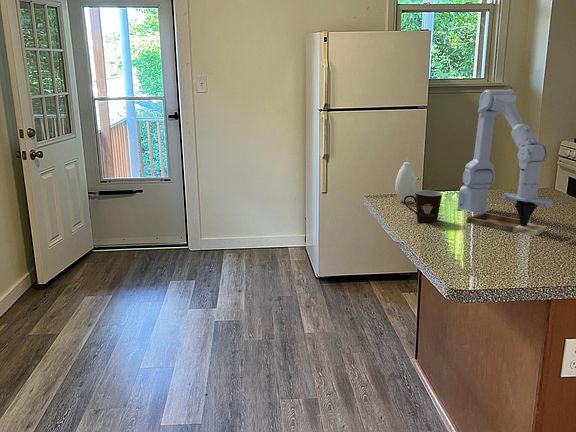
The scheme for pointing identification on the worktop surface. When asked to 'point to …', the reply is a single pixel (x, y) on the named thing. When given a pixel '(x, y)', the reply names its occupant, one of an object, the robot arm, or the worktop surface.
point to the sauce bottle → (405, 182)
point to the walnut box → (494, 221)
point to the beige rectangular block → (530, 229)
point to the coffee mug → (426, 205)
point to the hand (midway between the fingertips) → (523, 225)
